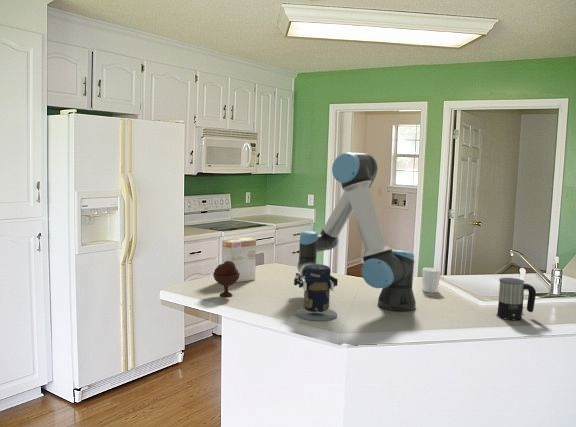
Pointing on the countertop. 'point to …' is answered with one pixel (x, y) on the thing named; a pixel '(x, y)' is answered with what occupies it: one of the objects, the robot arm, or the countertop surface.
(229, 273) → the ice cream bowl
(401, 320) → the countertop surface
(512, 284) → the milk frother
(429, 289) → the white cup
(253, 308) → the countertop surface
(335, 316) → the disc
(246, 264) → the coffeecake box
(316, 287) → the canister
